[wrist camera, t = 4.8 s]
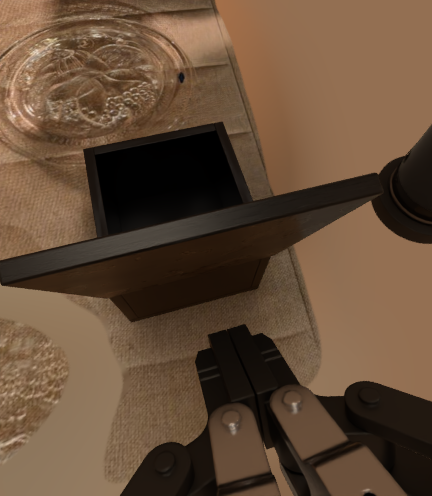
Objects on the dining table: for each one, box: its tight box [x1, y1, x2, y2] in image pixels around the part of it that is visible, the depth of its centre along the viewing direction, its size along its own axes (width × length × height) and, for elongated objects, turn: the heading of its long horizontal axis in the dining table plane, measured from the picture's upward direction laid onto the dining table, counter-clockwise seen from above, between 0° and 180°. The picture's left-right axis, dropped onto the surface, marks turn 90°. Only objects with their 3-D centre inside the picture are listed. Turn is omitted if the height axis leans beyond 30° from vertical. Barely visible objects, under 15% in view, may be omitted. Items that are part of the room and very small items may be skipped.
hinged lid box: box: [83, 122, 271, 322], centre depth 33 cm, size 14×13×9 cm
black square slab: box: [0, 173, 384, 298], centre depth 18 cm, size 15×13×1 cm
